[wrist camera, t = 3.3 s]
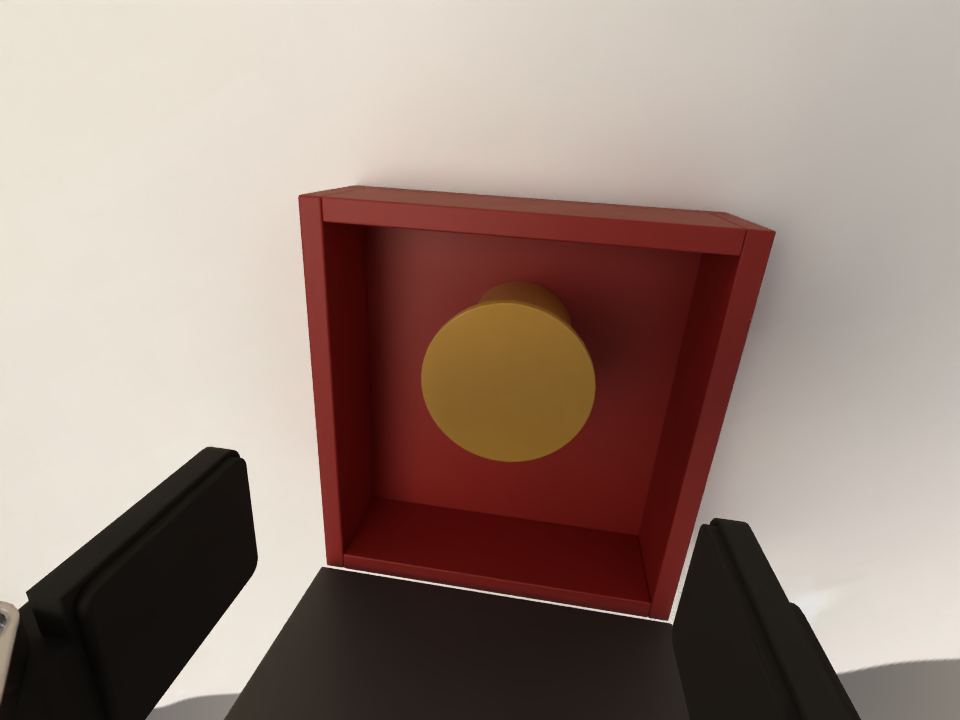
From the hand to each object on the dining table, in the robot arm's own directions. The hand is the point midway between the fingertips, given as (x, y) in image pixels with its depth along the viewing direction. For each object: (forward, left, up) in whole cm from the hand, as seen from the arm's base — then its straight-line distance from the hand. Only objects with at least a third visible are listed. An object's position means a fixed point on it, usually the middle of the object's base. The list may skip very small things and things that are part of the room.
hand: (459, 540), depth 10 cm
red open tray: (0, +2, -13) cm, 13 cm away
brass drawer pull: (0, 0, -12) cm, 12 cm away
